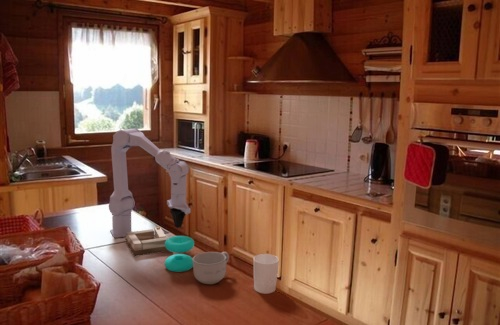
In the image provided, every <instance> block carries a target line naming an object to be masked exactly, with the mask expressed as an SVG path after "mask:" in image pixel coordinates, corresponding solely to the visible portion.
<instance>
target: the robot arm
mask: <svg viewBox="0 0 500 325" xmlns="http://www.w3.org/2000/svg"><path fill="white" fill-rule="evenodd" d="M112 137H113V138H112V139H113V141H112V144H111V146H110V147H111V148H110V150H111V164H112V178H113V180H112V181H113V192H112V194H111V195H110V196H109V203H108V210H109V212H110V214H111V215H112V217H111V218H112V229H109V230H110V233H111V236H113V238H114V239H118V238H124V237H126V233H127V232H133V230H132V212H133V209H134V208H135V204H136V203H135V202H136V201H135V199H134V197H133V192H132V191H131V190H130V189H129V180H128V178H129V177H128V166H127V152H128V150H129V149H131V148H132V147H140V148H141V149H143V150H144V151H146V152H147V153H148V154H150V155H152V156H153V157H155V158H154V159H155V162H156V163H157V164H159V166H160V167H162V168H163V169H164V170H166V171H167V173H168V175H169V177H170V199H168V200H166V205H167V206H168V208H169V212H170V214H171V217H172V220H173V223H174V227H175V228H176V229H179V228H181V227H182V226H183V222H184V219H185V216H186V215H189V214H191V212H192V211H191V207H189V206H188V204H187V175H188V174H189V172H190V167H189V165H188V163H186V161H184V160H180V159H179V158H178V157H177V158H176V157H175V156H174V155H172V154H171V152H170V151H169V150H166V149H162V150H161V149H160V148H159V147H158V146H157V145H155V144H154V143H153V142H152V141H151V140H150V139H149V138H147V137H146V136H145V134H144V132H142V131H140V129H138V128H135V127H133V128H132V127H131V128H130V129H127V128H126V129H120V130H117V131H116V132H115V133H114V134H113V135H112Z"/></svg>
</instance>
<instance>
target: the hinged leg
mask: <svg viewBox="0 0 500 325" xmlns="http://www.w3.org/2000/svg"><path fill="white" fill-rule="evenodd" d="M154 235H155V236H156V238H157V239H158V238H165V237H167V235H166V234H165V231H164V230H163V229H162V227H160V226H156V227H154Z"/></svg>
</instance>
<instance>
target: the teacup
mask: <svg viewBox="0 0 500 325" xmlns="http://www.w3.org/2000/svg"><path fill="white" fill-rule="evenodd" d="M192 258H193V259H192V260H193V267H192V268H193V275H194V278H195V280H197V281H198V282H200V283H202V284H204V285H214V284H217V283H219V282H221V281H222V280H223V278H224V277H225V275H226V273H227V263H228V261H229V259H230V256H229V253H228V252H227V251H222V252H219V251H204V252H200V253H197V254H195V255H194V256H192Z"/></svg>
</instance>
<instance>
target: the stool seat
mask: <svg viewBox="0 0 500 325" xmlns="http://www.w3.org/2000/svg"><path fill="white" fill-rule="evenodd" d="M168 238H170V237H169V236H166V237H165V238H158V239H157V238H156V236H155V229H153V228H152V229H145V230H143V229H142V230H135V231H132V232H127V233H126V238H125V244H126V246H127V247H128V249H129V251H130V253H131V254H132V255H133V257H140V256H145V255H153V254H160V253H164V252H170V251H169V250H167V249H166V247H165V241H166V240H167V239H168Z"/></svg>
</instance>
